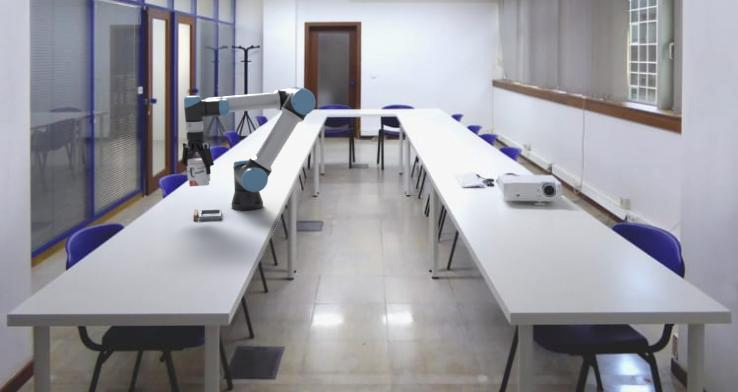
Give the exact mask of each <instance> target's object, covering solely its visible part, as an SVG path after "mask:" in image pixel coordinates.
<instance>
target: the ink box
mask: <svg viewBox="0 0 738 392" xmlns="http://www.w3.org/2000/svg"><path fill="white" fill-rule="evenodd" d="M204 167H205V165H204V163H203V161H202V159H201V157H199V158H192V159H188V174H189V180H188V182H189V183H188V185H189V187H203V186H209V185H210V181H208V182H205V176H204Z"/></svg>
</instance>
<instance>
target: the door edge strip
mask: <svg viewBox="0 0 738 392" xmlns="http://www.w3.org/2000/svg"><path fill="white" fill-rule="evenodd" d="M192 217H193V222H197V221H198V220H199V209H194V212H193V216H192Z"/></svg>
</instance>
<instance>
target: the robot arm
mask: <svg viewBox="0 0 738 392" xmlns="http://www.w3.org/2000/svg"><path fill="white" fill-rule="evenodd" d="M183 103H184V104H183V107H184V120H185V130H186V131H187V132H186V140H187V142H183V143H182V154H181V155H182V158H181V164H182V165H184V166H185V173H186V174H187V181H189V174H188V159H194V155H195V153H198V155H199V156H200V157H199V158H201V159H202V161H203V163H204V165H205V167H204V176H205V182H208V181H209V182H210V181H211V167H212V166H214V165H215V163H214V158H213V156H212V152H211V148H210V147H211V144H210V143H205V133H204V129H205V128H204V119H203V118H208V117H209V118H210V117H225V116H229V114H230V113H237V112H238V113H239V112H249V111H261V110H274V109H276V110H277V111H282V112H281V114H280V115H279V117H278V119H277V121H276V122H275V123H274V126H273V127H272V128H271V129H270V131H269V134H268V135H267V136H266V139H265V140H264V141H263V143H262V145H261V146H260V148H259V150H258V151H257V153H256V154H255V156H253V157H252V156H251V157H250V158H249V159H246V160H245V159H243V160H235V161H234V162H233V178H234V179H233V180H234V181H233V184H234V192H233V197H232V199H231V209H233V210H237V211H253V210H258V209H259V210H260V209H262V208H263V207H264V200H263V199H262V195H261V193H260V192H261V191H262V190H264V189H265V188H266V187H267V185H268V183H269V177H270V175H271V173H272V171H273V170H272V166H273V164H274V163H275V160H276V158H277V157H278V156H279V154H280V152H281V151H282V150H283V148H284V146H285V144H286V143H287V142H288V139H290V136H291V135H292V133H293V131H294V130H295V128H296V127H297V125H299V124H298V123H302V122H304V120H305V118H306V117H307V116H308V115H309V114H310V113H312V111H314V109H315V107H316V104H317V103H316V97H315V95H314V93H313V92H312V91H311V90H309V89H307V88H305V87H297V86H294V87H293V86H292V87H288V88H284V89H276V90H274V92H265V93H251V94H250V93H249V94H243V95H242V94H240V95H239V94H238V95H227V96H214V97H213V96H208V97H205V98H204V99H202V97H201V96H200V95H187V96H184V98H183Z"/></svg>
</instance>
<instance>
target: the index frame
mask: <svg viewBox="0 0 738 392" xmlns="http://www.w3.org/2000/svg"><path fill="white" fill-rule="evenodd" d="M198 221H200V222H205V221H222V209H221V208H220V209H219V208H218V209H200V211H199V213H198Z"/></svg>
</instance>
